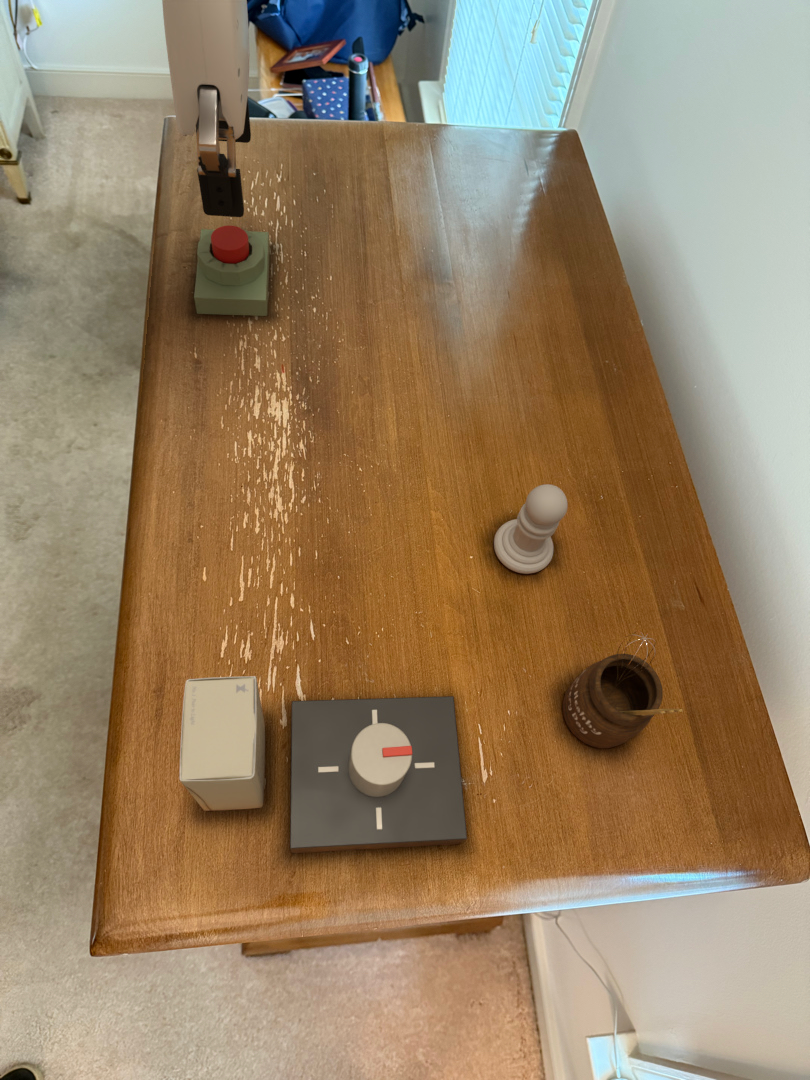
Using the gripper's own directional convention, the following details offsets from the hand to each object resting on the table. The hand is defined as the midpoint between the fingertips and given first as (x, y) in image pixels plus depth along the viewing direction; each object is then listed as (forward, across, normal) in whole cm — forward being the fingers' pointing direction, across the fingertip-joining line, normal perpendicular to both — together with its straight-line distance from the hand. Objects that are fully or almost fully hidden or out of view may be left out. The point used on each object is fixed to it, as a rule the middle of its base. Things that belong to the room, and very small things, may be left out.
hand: (228, 175), depth 63 cm
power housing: (+15, -4, -1) cm, 15 cm away
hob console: (+15, +47, +12) cm, 51 cm away
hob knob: (+12, +47, +12) cm, 50 cm away
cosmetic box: (+15, +46, +2) cm, 49 cm away
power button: (+11, -4, -1) cm, 12 cm away
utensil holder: (+15, +43, +30) cm, 54 cm away
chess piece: (+15, +28, +26) cm, 41 cm away
